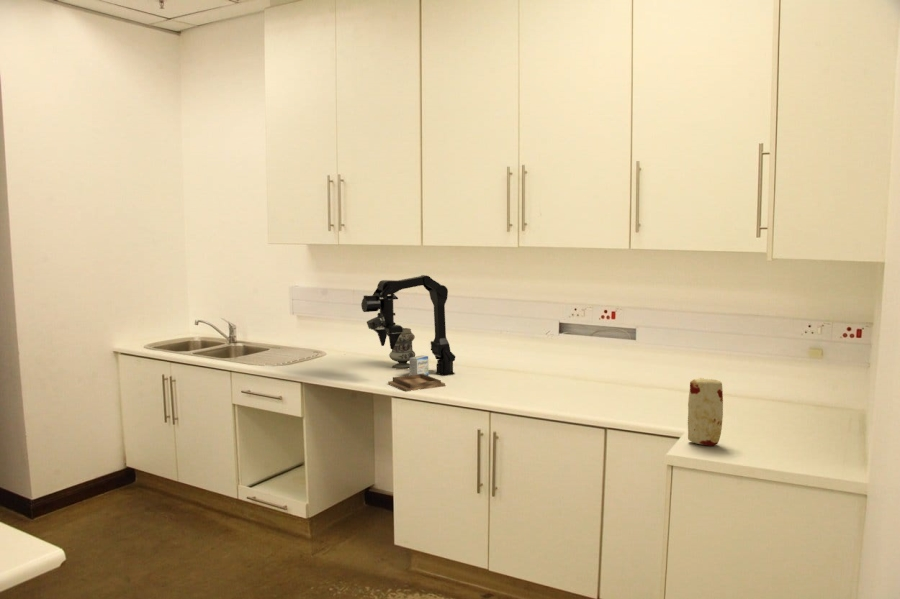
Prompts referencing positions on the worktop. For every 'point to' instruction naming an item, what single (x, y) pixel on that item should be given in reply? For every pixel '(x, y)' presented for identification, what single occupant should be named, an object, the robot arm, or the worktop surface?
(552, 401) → the worktop surface
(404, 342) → the grey ornate vase
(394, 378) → the walnut tray
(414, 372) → the medicine box
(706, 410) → the food model
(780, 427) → the worktop surface
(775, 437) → the worktop surface
